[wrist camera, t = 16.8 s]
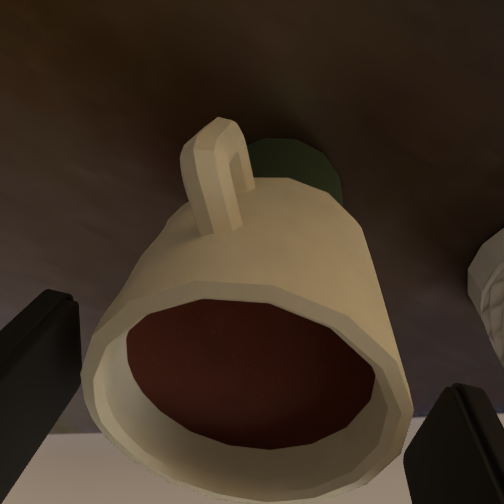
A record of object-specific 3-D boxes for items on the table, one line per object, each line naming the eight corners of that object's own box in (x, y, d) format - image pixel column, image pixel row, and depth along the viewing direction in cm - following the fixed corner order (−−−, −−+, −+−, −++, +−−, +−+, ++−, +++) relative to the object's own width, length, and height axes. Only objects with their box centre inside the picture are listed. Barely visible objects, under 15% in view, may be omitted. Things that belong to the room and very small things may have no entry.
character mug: (181, 97, 18) (-41, 207, 6) (339, 63, 16) (413, 126, 5) (235, 290, 23) (164, 542, 11) (358, 278, 21) (417, 554, 10)
